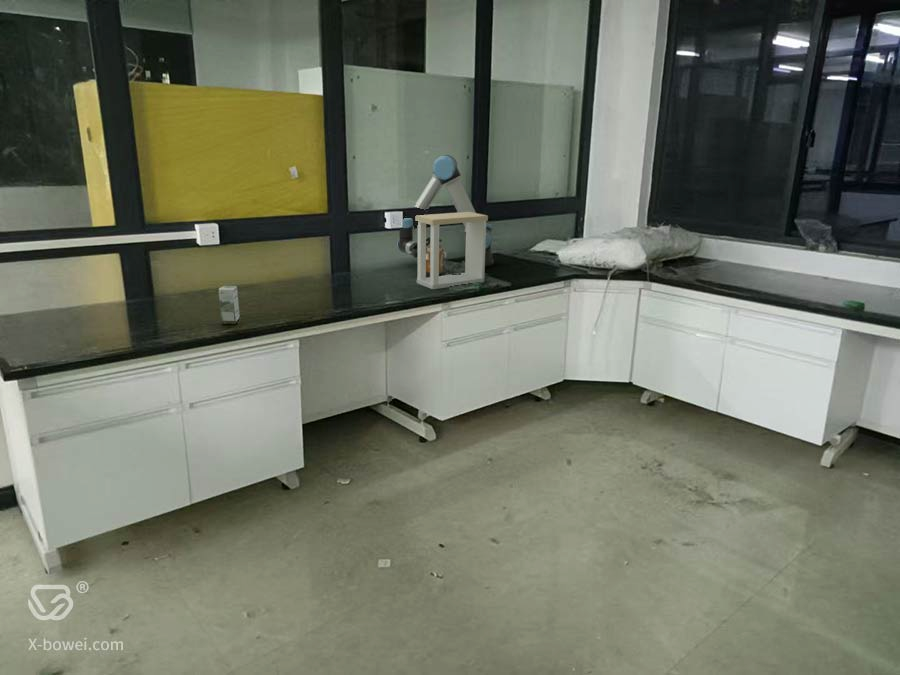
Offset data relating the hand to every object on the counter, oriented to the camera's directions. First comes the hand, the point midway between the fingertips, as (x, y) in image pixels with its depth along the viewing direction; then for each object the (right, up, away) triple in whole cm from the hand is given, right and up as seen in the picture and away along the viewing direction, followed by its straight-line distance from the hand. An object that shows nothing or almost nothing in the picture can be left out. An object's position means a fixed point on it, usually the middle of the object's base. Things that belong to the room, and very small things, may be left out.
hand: (437, 256), depth 327 cm
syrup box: (-80, -36, -77) cm, 117 cm away
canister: (-3, -9, +7) cm, 12 cm away
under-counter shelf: (+7, -14, -7) cm, 17 cm away
